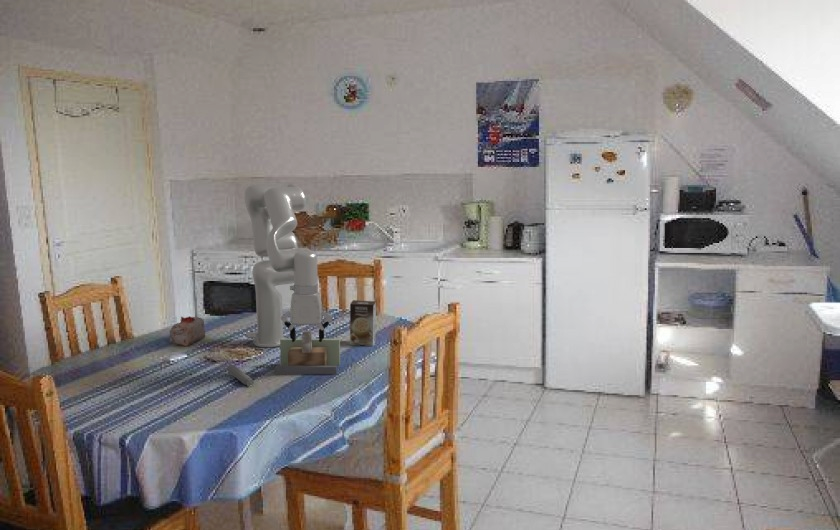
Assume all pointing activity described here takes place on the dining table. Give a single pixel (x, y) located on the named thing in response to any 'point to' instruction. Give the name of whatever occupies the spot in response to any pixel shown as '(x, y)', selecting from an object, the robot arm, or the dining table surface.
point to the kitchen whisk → (234, 370)
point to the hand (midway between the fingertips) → (307, 340)
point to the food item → (187, 331)
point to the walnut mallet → (307, 353)
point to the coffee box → (362, 323)
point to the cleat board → (332, 359)
